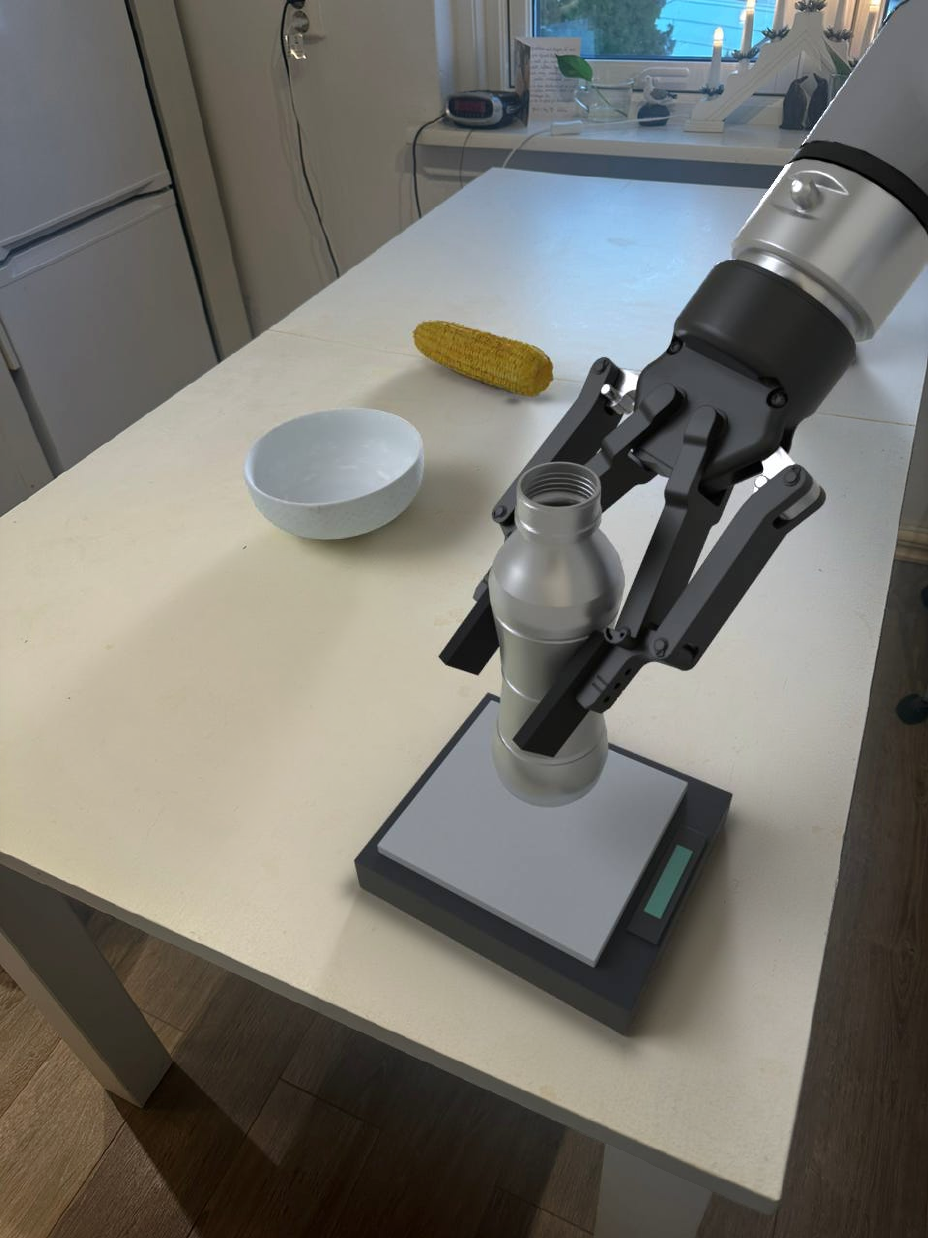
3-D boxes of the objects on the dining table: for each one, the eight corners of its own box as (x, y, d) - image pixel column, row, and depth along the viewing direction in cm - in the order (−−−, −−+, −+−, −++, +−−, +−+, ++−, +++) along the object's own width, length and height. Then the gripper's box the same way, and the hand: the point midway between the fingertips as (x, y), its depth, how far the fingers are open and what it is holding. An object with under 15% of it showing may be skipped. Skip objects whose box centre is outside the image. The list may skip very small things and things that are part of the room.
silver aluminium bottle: (470, 790, 50) (451, 501, 37) (531, 715, 54) (534, 430, 41) (568, 843, 47) (586, 550, 34) (625, 759, 51) (662, 468, 38)
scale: (725, 821, 57) (735, 785, 55) (625, 1037, 47) (631, 1005, 45) (489, 719, 65) (487, 683, 62) (359, 887, 55) (351, 853, 52)
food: (559, 392, 102) (560, 343, 98) (528, 411, 99) (529, 361, 95) (429, 344, 113) (426, 299, 109) (398, 360, 110) (393, 314, 106)
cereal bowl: (310, 456, 94) (298, 395, 89) (454, 481, 89) (450, 419, 84) (223, 547, 82) (204, 484, 77) (383, 582, 77) (374, 516, 72)
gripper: (611, 200, 42) (354, 585, 47) (967, 333, 30) (569, 834, 35) (680, 282, 48) (443, 619, 53) (1004, 423, 35) (656, 845, 40)
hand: (494, 704), depth 44 cm, fingers closed on silver aluminium bottle, 6 cm apart
